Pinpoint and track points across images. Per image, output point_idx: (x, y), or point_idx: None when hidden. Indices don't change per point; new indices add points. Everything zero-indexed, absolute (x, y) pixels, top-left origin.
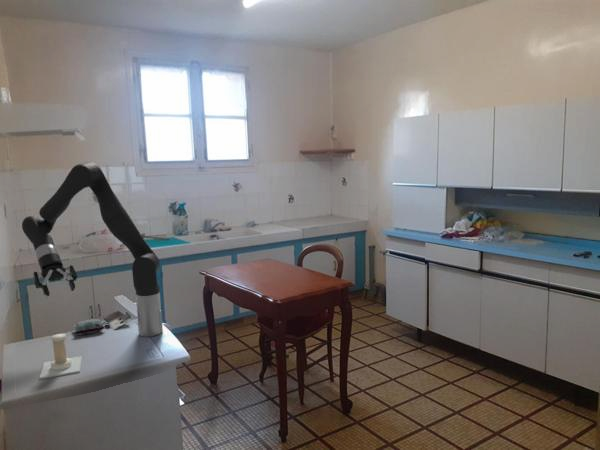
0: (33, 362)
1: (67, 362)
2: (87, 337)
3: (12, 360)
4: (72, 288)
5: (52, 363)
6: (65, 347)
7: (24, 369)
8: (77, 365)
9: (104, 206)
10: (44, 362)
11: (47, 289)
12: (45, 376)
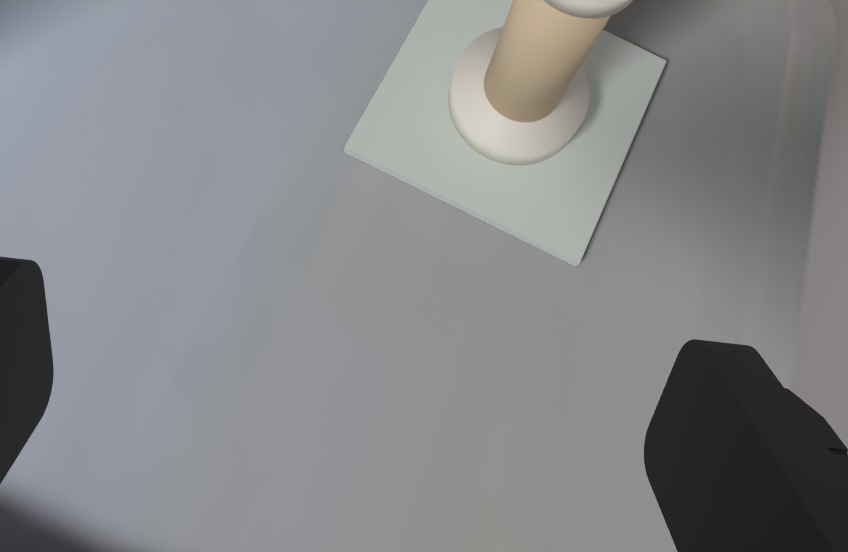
0: (626, 360)
1: (493, 43)
2: (90, 545)
3: None
4: (30, 261)
5: (573, 110)
6: (511, 5)
7: (701, 289)
8: (432, 31)
9: None
10: (580, 258)
11: (775, 425)
12: (634, 47)
